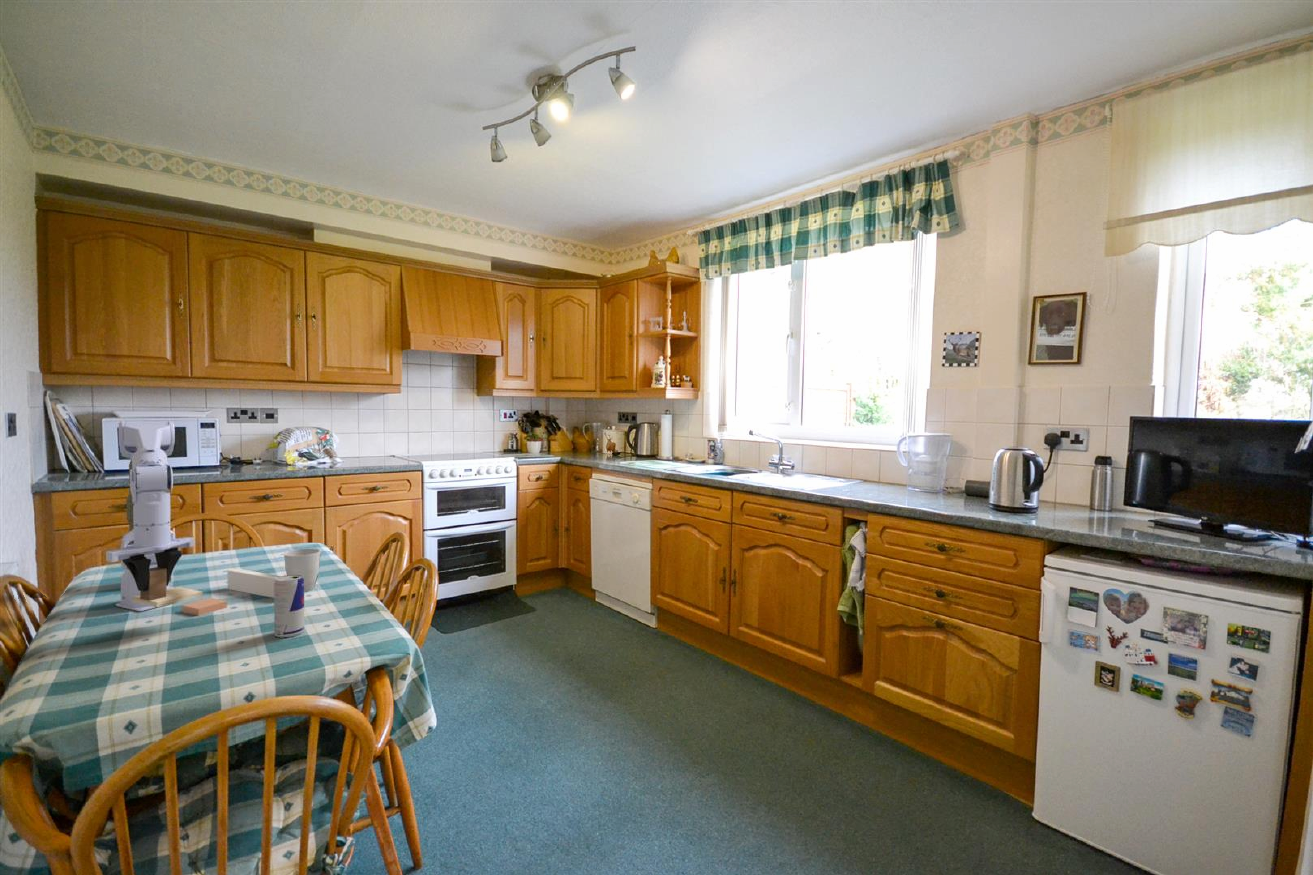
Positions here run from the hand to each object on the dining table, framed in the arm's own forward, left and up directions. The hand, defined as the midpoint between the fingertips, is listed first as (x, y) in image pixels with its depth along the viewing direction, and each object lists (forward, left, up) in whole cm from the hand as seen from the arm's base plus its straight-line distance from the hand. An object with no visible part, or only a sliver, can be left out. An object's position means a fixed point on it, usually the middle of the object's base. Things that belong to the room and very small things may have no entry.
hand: (153, 587), depth 117 cm
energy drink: (+25, +11, -10) cm, 29 cm away
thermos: (-40, +20, -10) cm, 46 cm away
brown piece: (0, +3, -3) cm, 4 cm away
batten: (-6, +26, -10) cm, 29 cm away
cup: (0, +33, -10) cm, 34 cm away
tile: (-6, +13, -10) cm, 18 cm away
